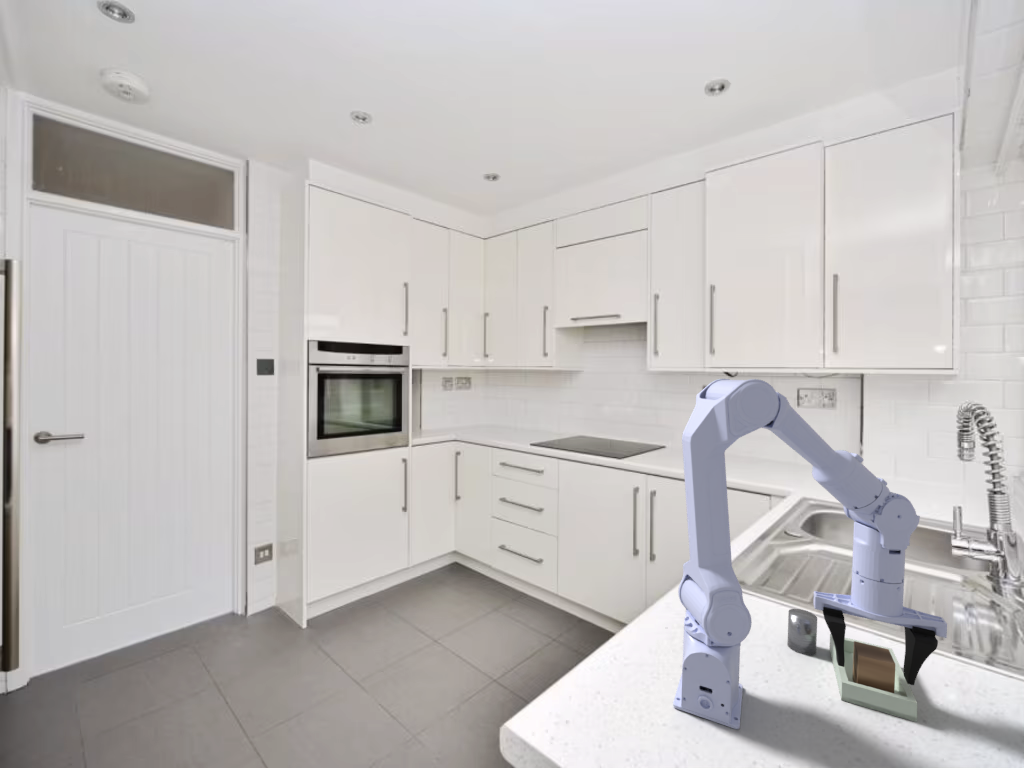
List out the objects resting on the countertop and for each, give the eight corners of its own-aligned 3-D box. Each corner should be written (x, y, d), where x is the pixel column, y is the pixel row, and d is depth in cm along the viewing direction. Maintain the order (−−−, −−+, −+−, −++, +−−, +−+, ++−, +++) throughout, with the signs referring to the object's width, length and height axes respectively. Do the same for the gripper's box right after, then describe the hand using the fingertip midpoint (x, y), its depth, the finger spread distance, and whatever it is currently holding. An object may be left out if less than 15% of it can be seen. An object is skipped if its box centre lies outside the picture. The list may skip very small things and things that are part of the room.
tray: (916, 722, 60) (917, 703, 60) (841, 700, 64) (842, 682, 64) (891, 664, 72) (891, 648, 72) (829, 649, 76) (830, 633, 76)
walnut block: (893, 704, 62) (895, 664, 62) (857, 694, 64) (858, 655, 64) (887, 687, 66) (888, 649, 66) (852, 678, 68) (853, 641, 68)
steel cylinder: (817, 658, 74) (818, 623, 74) (787, 650, 76) (789, 616, 76) (814, 645, 77) (816, 612, 77) (787, 638, 79) (788, 606, 79)
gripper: (936, 576, 65) (932, 672, 65) (813, 554, 72) (809, 641, 72) (954, 596, 59) (949, 703, 59) (817, 571, 66) (813, 666, 66)
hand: (873, 671), depth 65 cm, fingers open, 7 cm apart
